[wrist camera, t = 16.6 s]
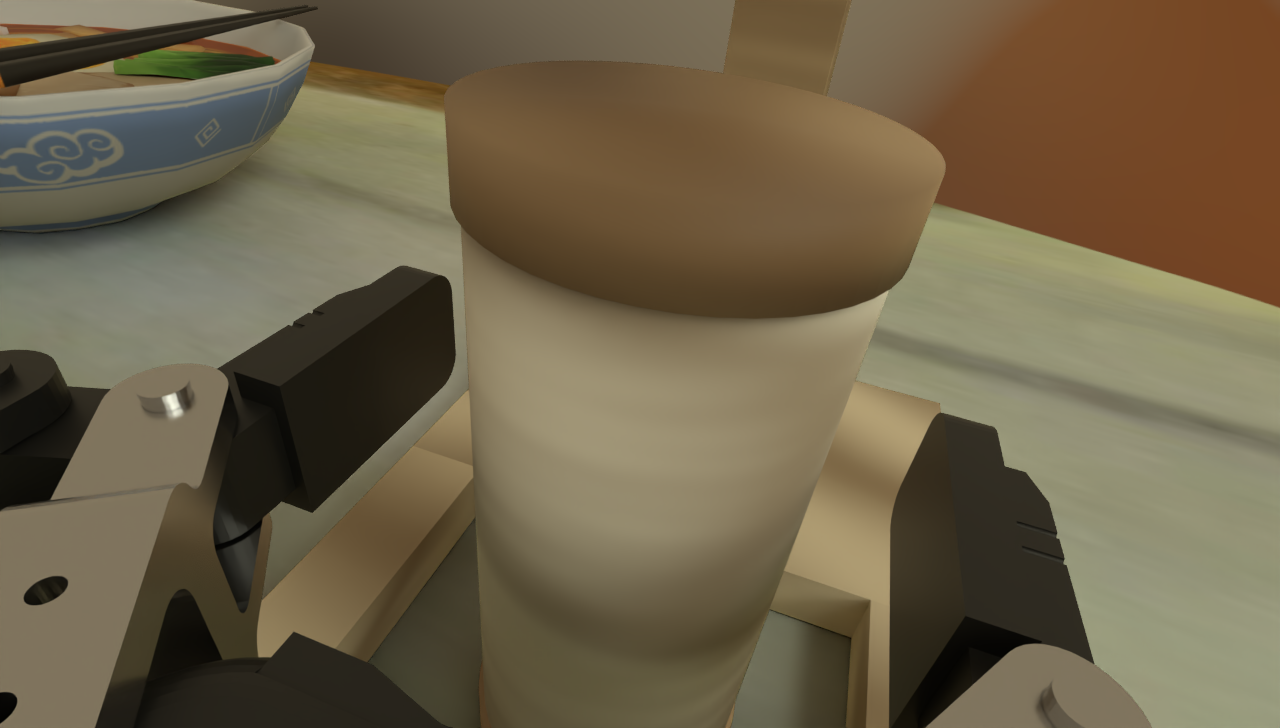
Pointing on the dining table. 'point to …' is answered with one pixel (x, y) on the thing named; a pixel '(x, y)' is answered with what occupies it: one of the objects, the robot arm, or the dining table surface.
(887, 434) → the hook stand
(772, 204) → the cord spool
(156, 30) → the ramen bowl
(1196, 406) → the dining table surface
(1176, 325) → the dining table surface
